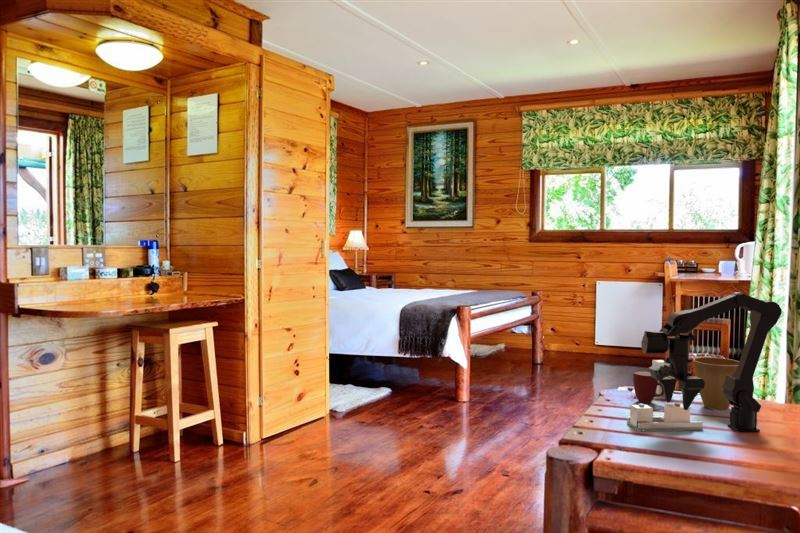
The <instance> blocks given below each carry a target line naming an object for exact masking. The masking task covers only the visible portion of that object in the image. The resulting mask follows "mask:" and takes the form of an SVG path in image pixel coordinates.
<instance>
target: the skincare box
mask: <svg viewBox="0 0 800 533" xmlns="http://www.w3.org/2000/svg"><path fill="white" fill-rule="evenodd" d="M651 362H652V365H651V366H653V365H656V364H659V363H662V362H664V359H652V361H651ZM658 382H659V381H658ZM659 383H660V382H659ZM661 393H662V388H661V387H660V386H659V385H657V389H656V395H660V394H661Z"/></svg>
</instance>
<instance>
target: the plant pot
mask: <svg viewBox="0 0 800 533" xmlns="http://www.w3.org/2000/svg"><path fill="white" fill-rule="evenodd" d="M692 361H693V367H694V375H695V376H696V377H698V378H701V379H703V380H704V381H705V388H704V389H702V391H699V394H700V398H701V400H702V403H703V406H704V407H705V408H707V409H710V410H715V411H716V410H717V411H725V409H726V410H728V409H729V407H730V406H731V405H730V403H729V400H728V399H727V398H726V397H725V395H724V394H723V390H724V388H723V387H722V386H723V385H724V383H725V378H726V375H729V376H732V375H733V374H734V373H735V372H736V370H737V367H738V364H739V361H740V360H735V359H731V358H725V357H715V356H713V357H712V356H700V357H695V358H693V360H692Z"/></svg>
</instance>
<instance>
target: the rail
mask: <svg viewBox="0 0 800 533" xmlns="http://www.w3.org/2000/svg"><path fill="white" fill-rule="evenodd" d="M629 410H630V413H629V416H627V421H626V424H627V425H628V426H630V427H631V426H632V428H633V427H634V428H633V429H635V428H636V429H635V430H637V429H638V430H639V431H638V430H637V431H638V432H656V431H659V432H660V431H662V432H665V431H667V432H668V431H670V432H671V431H703V430H704V427H703V421H691V420H690V422H664V415H662V416H660V415H659V416H658V415H657V416H654V407H652V406H650V405H648V404H645V403H638V404H630V408H629ZM643 430H644V431H643Z"/></svg>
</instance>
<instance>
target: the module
mask: <svg viewBox="0 0 800 533" xmlns="http://www.w3.org/2000/svg"><path fill="white" fill-rule="evenodd" d="M691 409H692V408H691V406H690V407H689V408H688V410H684V408H683V403H678V402H674V404H673V403H670V404H668V403H666V404H664V407H663V411H664V412H663V413H664V414H663V416H664V422H690V421H691Z"/></svg>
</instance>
